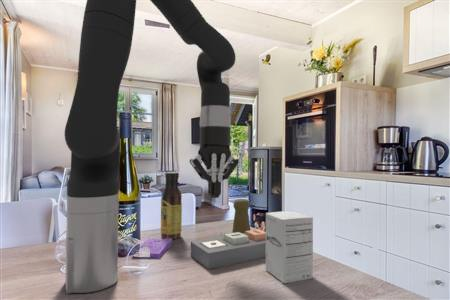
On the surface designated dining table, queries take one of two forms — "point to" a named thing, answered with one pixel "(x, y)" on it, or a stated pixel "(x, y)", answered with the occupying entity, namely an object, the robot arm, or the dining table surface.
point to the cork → (241, 216)
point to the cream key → (213, 244)
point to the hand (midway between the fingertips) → (214, 197)
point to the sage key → (235, 238)
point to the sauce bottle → (171, 208)
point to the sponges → (156, 246)
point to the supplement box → (289, 246)
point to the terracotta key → (256, 235)
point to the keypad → (227, 252)
